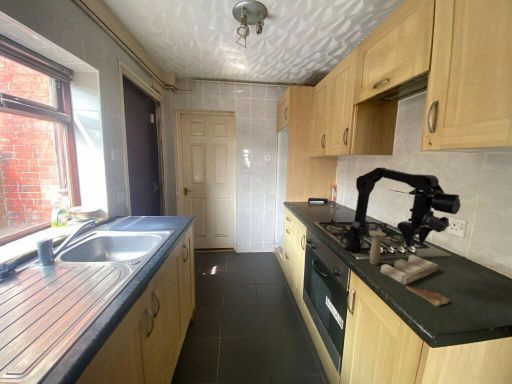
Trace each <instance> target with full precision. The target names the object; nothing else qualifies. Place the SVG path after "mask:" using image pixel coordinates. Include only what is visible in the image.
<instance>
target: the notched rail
mask: <svg viewBox="0 0 512 384" xmlns="http://www.w3.org/2000/svg"><path fill="white" fill-rule="evenodd" d="M437 270H438V264H437V263H435V262H432V261H429V260H427V259H424V258H422V257H419V256H417V255H414V254H411V255H409V256H408V260H404V259H402V258H399V259H397V260H395V261H394V266H391V265H389V264H387V263H386V264H382V265H381V268H380V273H381V274H383V275H386V276H387V277H389V278H391V279H393V280H395V281H396V282H398V283H400V284H403V285H406V286H407V285H408V284H410V283H412V282H414V281H415V282H416V281H417V280H419V279H422V278H424V277H427V276H429V275H430V274H433V273H434V272H437Z"/></svg>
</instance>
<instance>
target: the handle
mask: <svg viewBox="0 0 512 384" xmlns="http://www.w3.org/2000/svg"><path fill="white" fill-rule="evenodd" d="M369 236H370V237H372V241H371V246H370V251H369V263H370V264H371V265H373V266H377V265H378V264H379V259H380V257H381V244H382V239H385V238H386V236H387V233H385V232H382V231H377V230H370V231H369Z"/></svg>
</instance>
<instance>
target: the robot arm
mask: <svg viewBox="0 0 512 384" xmlns="http://www.w3.org/2000/svg"><path fill="white" fill-rule="evenodd" d="M382 178H383V179H388V180H392V181H396V182H401V183H403V184H406V185H408V186H409V187H411V188H413V189H412V190H411V191H409V192H408V194H409V195H413V196H414V197H413V204H412V207H411V208H409V212H410V214H411V215H410V217H409V218H408V219H407V221H406V220H404V221H400V222H399V223H398V222H397V227H396V229H397V230H398V231H400V234H401V235H402V237H403V239H404V243H405V245H406V247H407V248H411V247H412V244H413V241H414V239H415V237H416V236H417V235H418V240H419V243H420V244H424V243H425V241H426V240H427V238H428V236H429V235H430V233H431V232H433V231H434V232H435V233H441V232H445V231H446V229H447V228H448V227H450V221H449V218H448V217H446V216H442V217H438V216H435V215H434V214H435V213H434V212H435V211H437V212H441V213H446V214H451V215H457V213H458V212H459V211H460V209H461V200H460V194H456V193H455V194H452V193H451V194H450V193H445V191H444V190H443V187H441V185H440V184H439V182H440V181H439V178H438V177H437V176H436V175H433V174H419V173H418V174H416V173H414V174H413V173H407V172H403V171H398V170H396V169H395V170H394V169H389V168H386V167H375V168H374V169H373V170H371V171H369V172H367V173H365V174H363V175H359V176H358V177H357V178H356V179H355V180H356V181H355V184H356V185H355V188H356V190H357V192H358V195H357V200H356V206H355V215H354V220H353V222H352V223H351V225H350V227H349V230H348V231H347V232H346V233H343V236H344V239H345V242H346V243H345V246H344V247H343V249H344V250H346V251H347V252H350V253H352V254H356V253H359V252H362V240H363V239H364V238H365V237H366V236H368V235H369V229H370V225H367V223H366V220H367V219H366V218H367V213H368V208H369V207H368V205H369V202H370V201H369V200H370V195H371V193H372V192H373V191H374V188H375V187H376V186H375V185H376V183H377V182H379V181H380V180H382ZM432 209H433V210H432Z"/></svg>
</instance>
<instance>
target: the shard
mask: <svg viewBox="0 0 512 384" xmlns="http://www.w3.org/2000/svg"><path fill="white" fill-rule="evenodd" d="M405 287H406V288H405V289H407V290H408V291H410V292H412V293H414V294H415V295H417V296H419V297H421V298H422V299H424V300H426V302H427V301H428V302H429V303H430V304H431V305H433V306H435V307H439V306H442V305H446V304H448V303H449V302H450V300H449V298H447V297H445V296H444V295H442V294H440V293H439V292H436V291H433V290H429V289H424V288H419V287H414V286H409V285H407V284H406V285H405Z"/></svg>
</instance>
